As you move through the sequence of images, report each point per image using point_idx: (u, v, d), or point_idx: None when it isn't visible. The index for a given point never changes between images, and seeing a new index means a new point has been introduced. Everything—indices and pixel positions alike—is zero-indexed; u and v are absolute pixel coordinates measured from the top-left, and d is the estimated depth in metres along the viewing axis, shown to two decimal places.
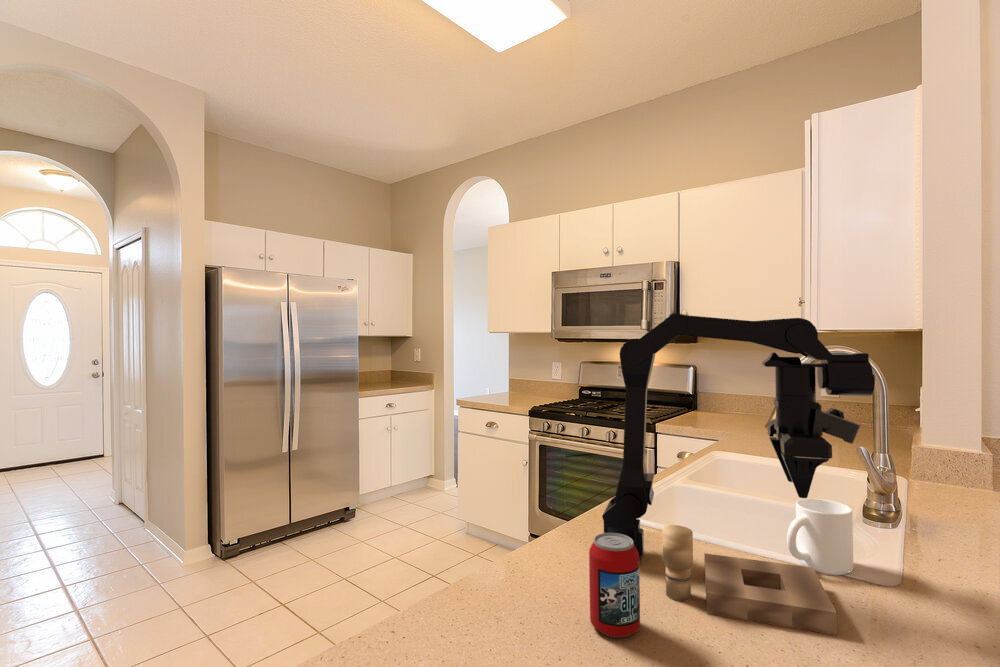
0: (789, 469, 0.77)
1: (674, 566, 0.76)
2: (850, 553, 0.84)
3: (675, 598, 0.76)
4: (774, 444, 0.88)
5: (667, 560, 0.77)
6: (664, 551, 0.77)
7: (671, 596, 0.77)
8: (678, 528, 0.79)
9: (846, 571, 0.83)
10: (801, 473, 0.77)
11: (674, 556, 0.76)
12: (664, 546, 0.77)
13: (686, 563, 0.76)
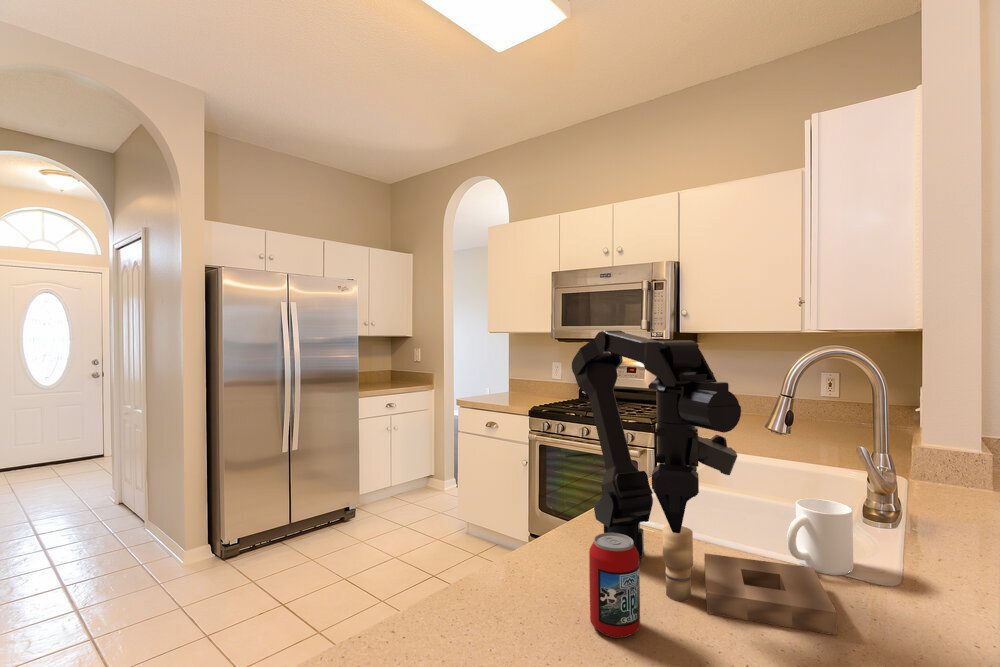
0: (660, 502, 0.73)
1: (674, 566, 0.76)
2: (850, 553, 0.84)
3: (675, 598, 0.76)
4: None
5: (667, 560, 0.77)
6: (664, 551, 0.77)
7: (671, 596, 0.77)
8: None
9: (846, 571, 0.83)
10: (673, 507, 0.73)
11: (674, 556, 0.76)
12: (664, 546, 0.77)
13: (686, 563, 0.76)
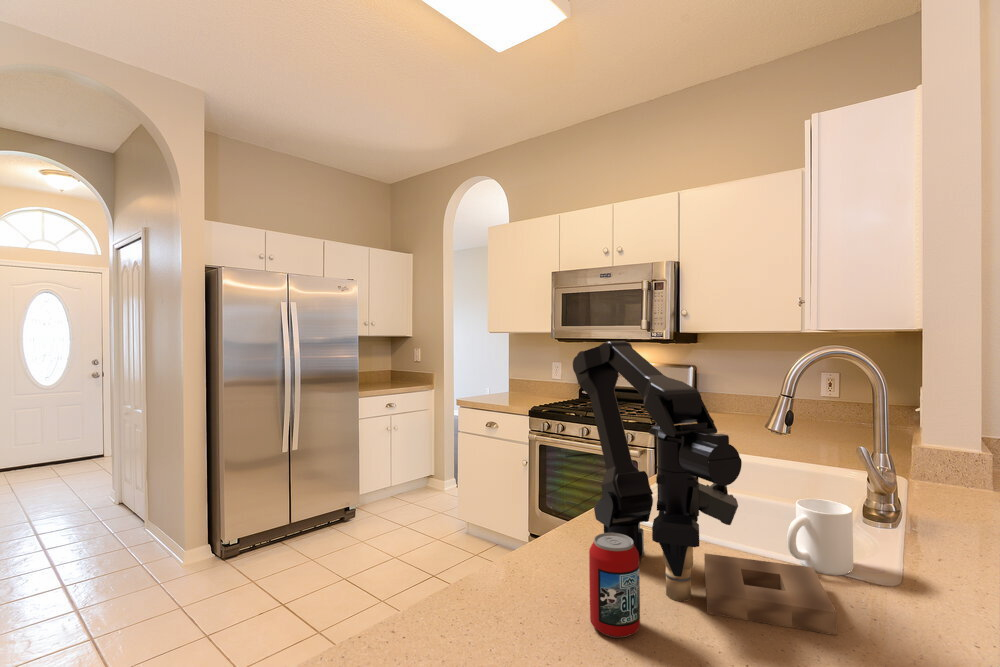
0: (662, 547, 0.75)
1: None
2: (850, 553, 0.84)
3: (675, 598, 0.76)
4: None
5: None
6: None
7: (671, 596, 0.77)
8: None
9: (846, 571, 0.83)
10: (674, 551, 0.75)
11: None
12: None
13: (686, 563, 0.76)
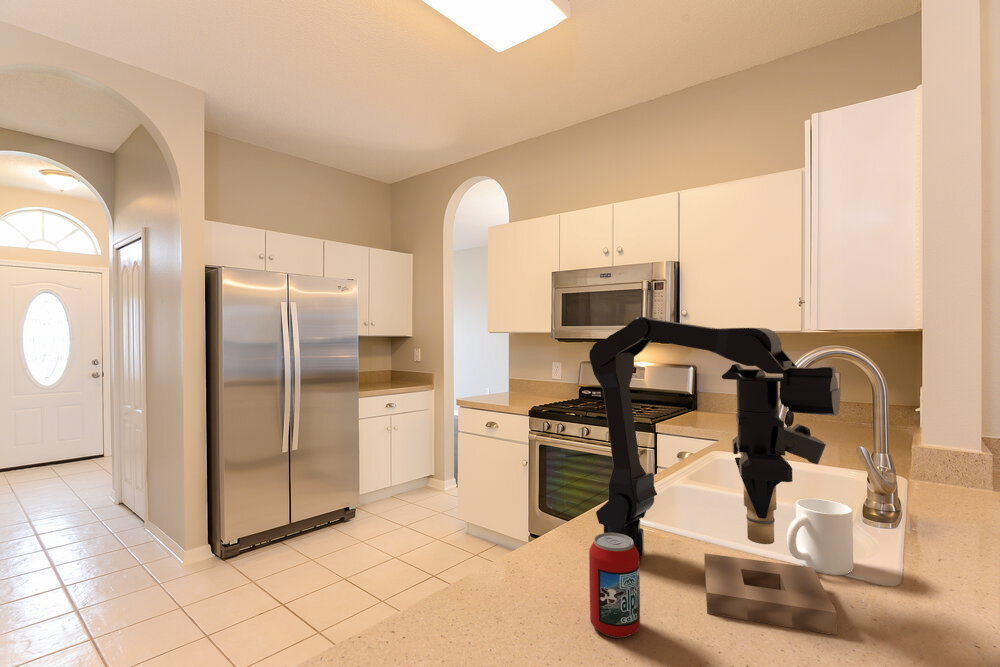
0: (747, 488, 0.73)
1: None
2: (850, 553, 0.84)
3: (759, 541, 0.75)
4: (739, 466, 0.80)
5: (750, 503, 0.75)
6: (746, 494, 0.76)
7: (754, 539, 0.75)
8: None
9: (846, 571, 0.83)
10: (759, 492, 0.73)
11: None
12: None
13: (770, 505, 0.74)
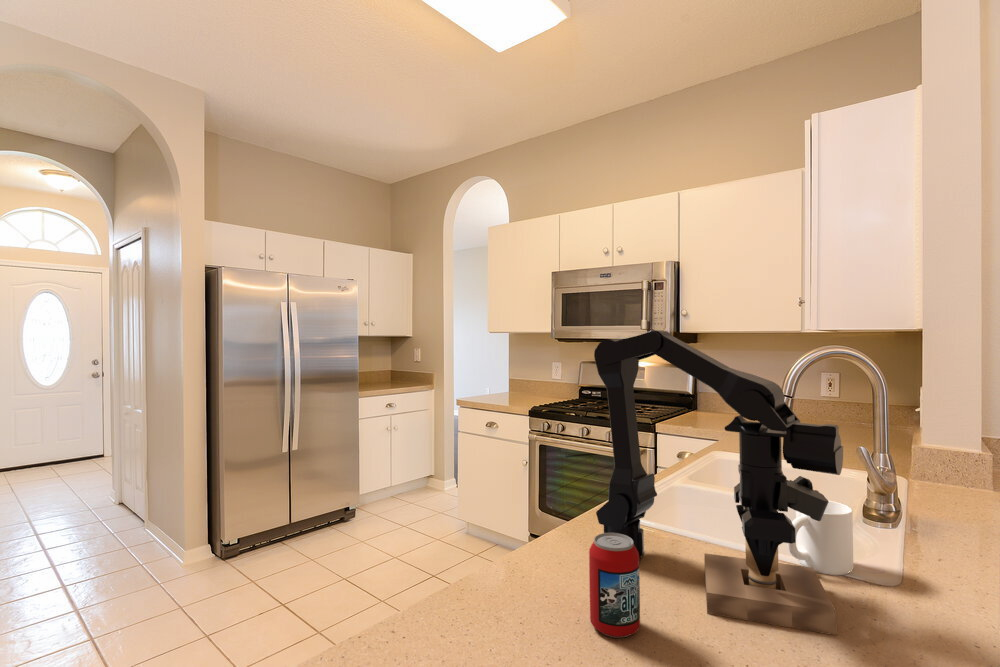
0: (750, 546, 0.72)
1: None
2: (850, 553, 0.84)
3: None
4: (740, 515, 0.81)
5: (752, 563, 0.75)
6: (748, 554, 0.76)
7: None
8: None
9: (846, 571, 0.83)
10: (762, 550, 0.72)
11: None
12: (748, 548, 0.76)
13: (773, 566, 0.74)
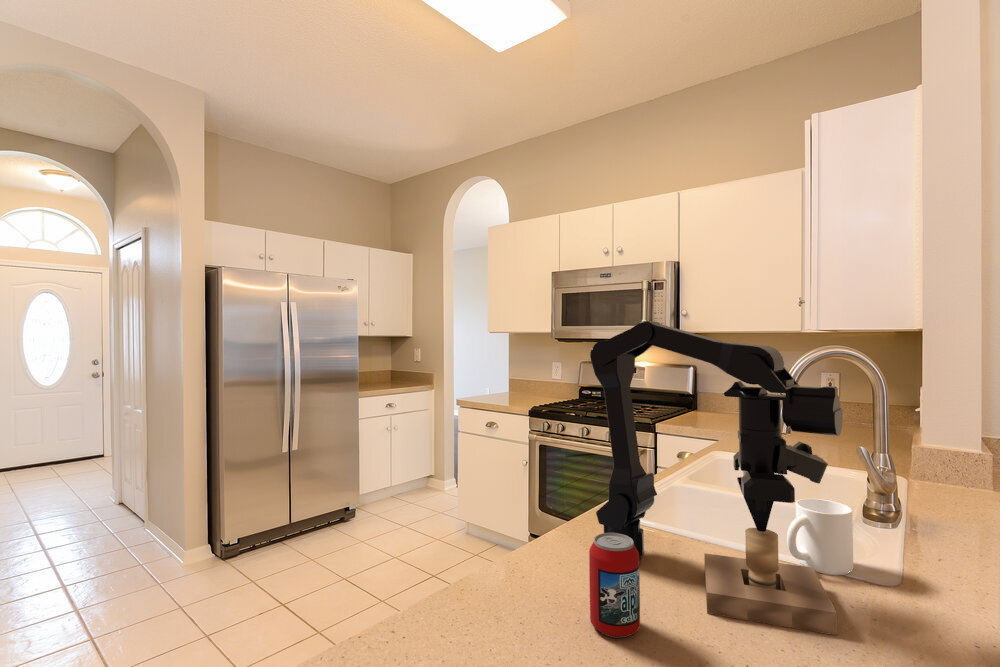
0: (747, 502, 0.75)
1: (760, 570, 0.74)
2: (850, 553, 0.84)
3: None
4: None
5: (752, 563, 0.75)
6: (748, 554, 0.76)
7: None
8: (761, 531, 0.77)
9: (846, 571, 0.83)
10: (759, 506, 0.75)
11: (760, 559, 0.74)
12: (748, 549, 0.76)
13: (773, 566, 0.74)
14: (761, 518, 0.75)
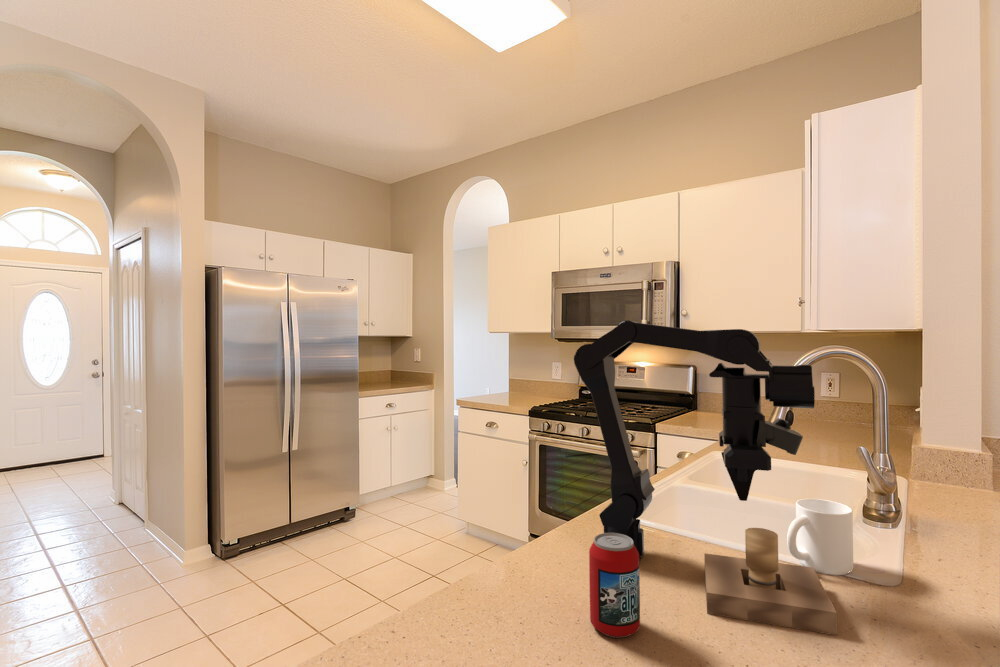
0: (729, 473, 0.82)
1: (760, 570, 0.74)
2: (850, 553, 0.84)
3: None
4: None
5: (752, 563, 0.75)
6: (748, 554, 0.76)
7: None
8: (761, 531, 0.77)
9: (846, 571, 0.83)
10: (741, 477, 0.81)
11: (760, 559, 0.74)
12: (748, 549, 0.76)
13: (773, 566, 0.74)
14: (743, 488, 0.82)
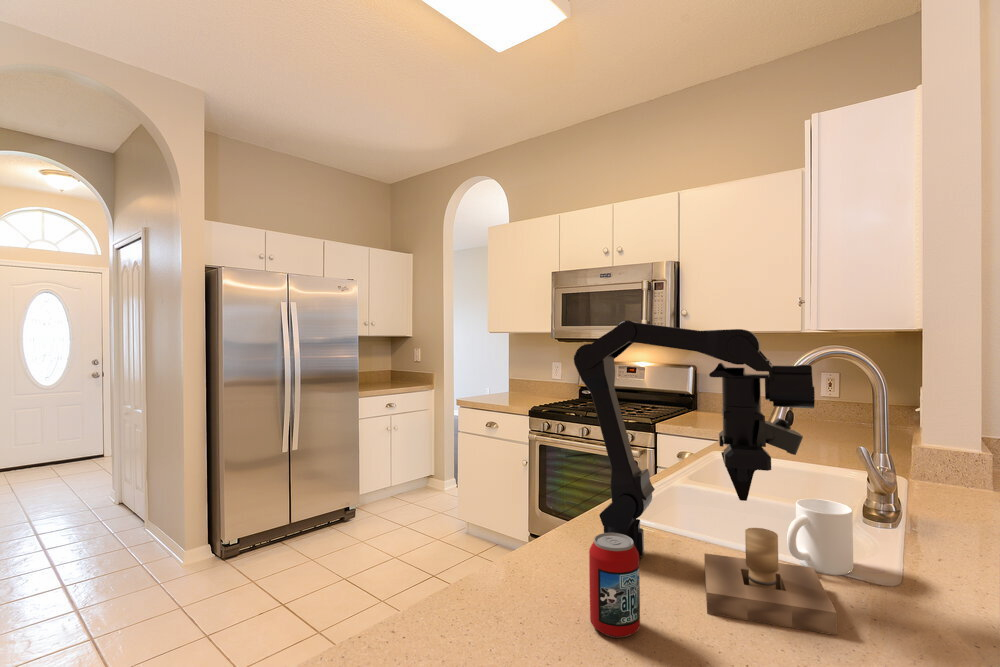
0: (729, 473, 0.82)
1: (760, 569, 0.74)
2: (850, 553, 0.84)
3: None
4: None
5: (752, 563, 0.75)
6: (748, 554, 0.76)
7: None
8: (761, 531, 0.77)
9: (846, 571, 0.83)
10: (741, 477, 0.81)
11: (760, 559, 0.74)
12: (748, 549, 0.76)
13: (773, 566, 0.74)
14: (743, 488, 0.82)
